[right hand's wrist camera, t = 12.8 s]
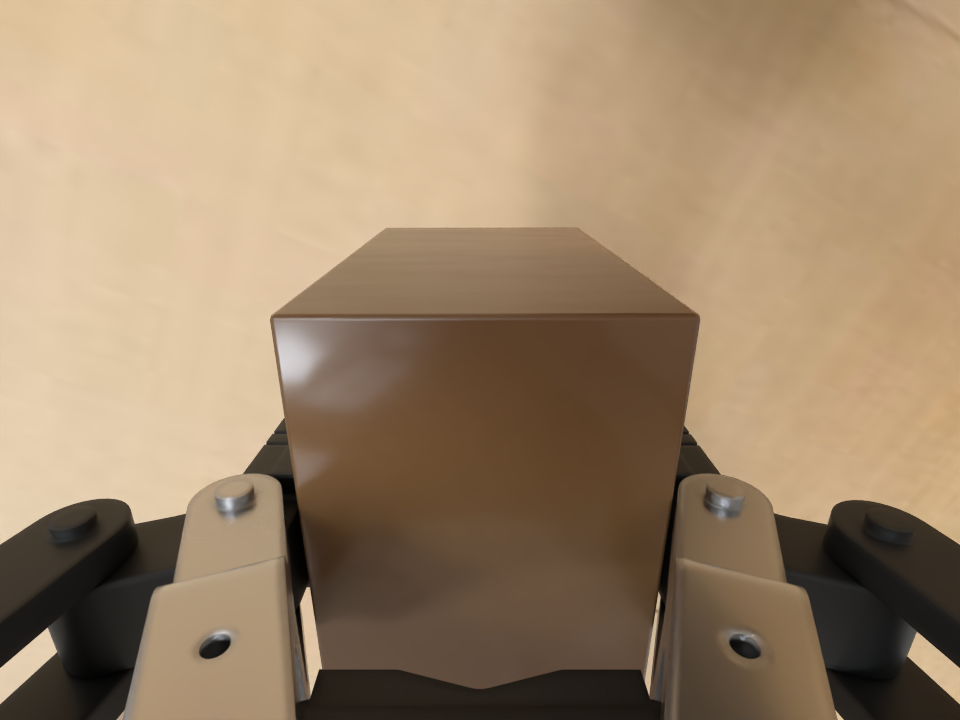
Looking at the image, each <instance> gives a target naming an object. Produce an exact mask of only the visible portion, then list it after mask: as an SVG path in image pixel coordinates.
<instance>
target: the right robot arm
mask: <svg viewBox="0 0 960 720" xmlns="http://www.w3.org/2000/svg"><path fill="white" fill-rule="evenodd" d="M266 443H267V444H266V445H264V446H263V448H262V449H261V450H260V452H259V453H258V454H257V456H256V457H255V458H254V460H253V461H252V462H251V464H250V465H249V466H248V468H247V469H246V471H245V472H244V473H243V474H241V475H236V476H231V477H228V478H225V479H221V480H219V481H217V482H214V483H212V484H210V485H208V486H207V487H205V488H204V489H202V490H201V491H199V492H198V493H197V494H196V495H195V496H194V497H193V498H192V499H191V501H190V502H189V504H188V507H187V512H186V514H183V515H179V516H174V517H169V518H164V519H159V520H154V521H149V522H144V523H139V524H135V523H134V520H133V517H132V513H131V510H130V507H129V506H128V505H127V504H126V503H125V502H123V501H120V500H116V499H96V500H89V501H84V502H80V503H76V504H73V505H70V506H67V507H64V508H62V509H59V510H57V511H54V512H52V513H50V514H48V515H46V516H45V517H43V518H41V519H39V520H38V521H36V522H35V523H33V524H32V525H30V526H28V527H27V528H25V529H24V530H22V531H21V532H19V533H18V534H16V535H15V536H13V537H12V538H10V539H8V540H7V541H5V542H4V543H2V544H1V545H0V668H1V667H2V666H3V665H4V664H5V663H7V662H8V661H9V660H10V659H11V658H12V657H14V656H15V655H16V654H17V653H18V652H19V651H21V650H22V649H23V648H24V647H25V646H26V645H28V644H29V643H30V642H31V641H32V640H34V639H35V638H36V637H37V636H38V635H39V634H41V633H42V632H43V631H44V630H45V629H46V628H48V629H49V632H50V634H51V637H52V639H53V642H54V644H55V647H56V650H57V653H56V654H55V655H54V656H53V657H52V658H51V659H49V660H48V661H47V662H46V663H45V664H44V665H43V666H42V667H41V668H40V669H38V670H37V671H36V672H35V673H34V674H33V675H32V676H31V677H30V678H29V679H28V680H26V681H25V682H24V683H23V684H22V685H21V686H20V687H19V688H18V689H17V690H16V691H14V692H13V693H12V694H11V695H10V696H9V697H8V698H7V699H6V700H5V701H3V702H2V703H1V704H0V720H116V719H117V718H118V717H119V716H120V715H121V713H122V712H123V711H124V710H125V712H124V716H123V720H837V716H836V712H835V710H836V711H837V712H838V713H839V715H840V716H841V717H842V718H843V719H844V720H960V704H959V703H958V702H957V701H955V700H954V699H953V698H952V697H951V696H950V695H949V694H948V693H947V692H946V691H945V690H943V689H942V688H941V687H940V686H939V685H938V684H937V683H936V682H935V681H934V680H932V679H931V678H930V677H929V676H928V675H927V674H926V673H925V672H924V671H923V670H922V669H920V668H919V667H918V666H917V665H916V664H915V663H914V662H913V661H912V660H911V659H909V658H908V657H907V655H908V652H909V650H910V647H911V645H912V642H913V640H914V637H915V635H916V632H918V633H919V634H921V635H922V636H923V637H924V638H925V639H926V640H928V641H929V642H930V643H931V644H932V645H934V646H935V647H936V648H937V649H938V650H939V651H941V652H942V653H943V654H944V655H945V656H946V657H948V658H949V659H950V660H951V661H952V662H953V663H955V664H956V665H957V666H958V667H959V668H960V545H959V544H958V543H956V542H955V541H953V540H952V539H950V538H948V537H947V536H945V535H944V534H942V533H941V532H939V531H938V530H936V529H935V528H933V527H932V526H930V525H928V524H927V523H925V522H924V521H922V520H920V519H919V518H917V517H915V516H913V515H911V514H909V513H907V512H904V511H902V510H899V509H897V508H894V507H891V506H888V505H884V504H880V503H876V502H871V501H863V500H850V501H844V502H840V503H838V504H836V505H835V506H834V507H833V509H832V511H831V515H830V518H829V522H828V525H826V524H821V523H816V522H811V521H806V520H801V519H796V518H790V517H786V516H782V515H778V514H775V513H774V512H773V507H772V504H771V502H770V501H769V499H768V498H767V497H766V496H765V495H764V494H763V493H762V492H761V491H759V490H758V489H756V488H755V487H753V486H752V485H750V484H748V483H746V482H743V481H741V480H739V479H735V478H732V477H729V476H724V475H721V474H720V473H719V471H718V470H717V469H716V467H715V466H714V465H713V463H712V462H711V461H710V459H709V458H708V457H707V455H706V454H705V453H704V451H703V450H702V449H701V447H700V446H697V442H696V441H695V439H694V438H693V437H692V435H689V431H688V430H687V429H686V427H685V426H684V428H683V434H682V441H681V447H680V454H679V460H678V467H677V473H676V480H675V486H674V493H673V499H672V506H671V512H670V519H669V525H668V532H667V538H666V545H665V551H664V558H663V564H662V571H661V577H660V584H659V590H658V591H659V593H660V596H661V599H660V605H659V611H658V618H657V627H656V637H655V647H654V657H653V667H652V676H651V686H650V696H649V694H648V691H647V688H646V685H645V682H644V678H643V675H642V672H641V669H562V670H558V671H554V672H550V673H546V674H542V675H538V676H534V677H530V678H526V679H522V680H518V681H514V682H510V683H506V684H502V685H499V686H495V687H491V688H485V689H475V688H469V687H465V686H461V685H458V684H454V683H450V682H446V681H442V680H438V679H434V678H430V677H426V676H422V675H418V674H414V673H410V672H406V671H402V670H398V669H319V672H318V675H317V678H316V682H315V685H314V688H313V691H312V694H311V696H310V686H309V676H308V667H307V657H306V647H305V637H304V628H303V618H302V611H301V605H300V602H301V600H302V597H303V595H304V592H305V590H306V587H310V583H309V576H308V570H307V563H306V556H305V550H304V543H303V536H302V530H301V523H300V516H299V510H298V503H297V496H296V489H295V483H294V476H293V469H292V463H291V456H290V449H289V443H288V436H287V429H286V423H285V418H284V419H283V420H282V422H281V423H280V425H279V426H278V427H277V429H276V430H275V431H274V434H272V435H271V437H270V438H269V439H268V441H267V442H266Z"/></svg>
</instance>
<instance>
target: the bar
mask: <svg viewBox="0 0 960 720" xmlns="http://www.w3.org/2000/svg"><path fill="white" fill-rule="evenodd" d="M270 322H271V329H272V336H273V343H274V349H275V356H276V363H277V369H278V376H279V383H280V389H281V396H282V403H283V409H284V416H285V423H286V429H287V436H288V443H289V449H290V456H291V463H292V469H293V476H294V483H295V489H296V496H297V503H298V510H299V516H300V523H301V530H302V536H303V543H304V550H305V556H306V563H307V570H308V576H309V583H310V590H311V596H312V603H313V610H314V616H315V623H316V630H317V636H318V643H319V650H320V656H321V663H322V669H398V670H402V671H406V672H410V673H414V674H418V675H422V676H426V677H430V678H434V679H438V680H442V681H446V682H450V683H454V684H458V685H461V686H465V687H469V688H475V689H485V688H491V687H495V686H499V685H502V684H506V683H510V682H514V681H518V680H522V679H526V678H530V677H534V676H538V675H542V674H546V673H550V672H554V671H558V670H562V669H641V672H642V675H643V678H644V682H645V675H646V669H647V662H648V656H649V649H650V642H651V636H652V629H653V623H654V616H655V610H656V603H657V597H658V590H659V584H660V577H661V571H662V564H663V558H664V551H665V545H666V538H667V532H668V525H669V519H670V512H671V506H672V499H673V493H674V486H675V480H676V473H677V467H678V460H679V454H680V447H681V441H682V434H683V428H684V421H685V415H686V408H687V402H688V395H689V389H690V382H691V376H692V369H693V363H694V356H695V350H696V343H697V337H698V330H699V324H700V317H699V314H697V313H696V312H694V311H693V310H692V309H690V308H689V307H687V306H686V305H685V304H683V303H682V302H681V301H679V300H678V299H676V298H675V297H674V296H672V295H671V294H669V293H668V292H667V291H665V290H664V289H662V288H661V287H660V286H658V285H657V284H655V283H654V282H653V281H651V280H650V279H648V278H647V277H646V276H644V275H643V274H642V273H640V272H639V271H637V270H636V269H635V268H633V267H632V266H630V265H629V264H628V263H626V262H625V261H623V260H622V259H621V258H619V257H618V256H616V255H615V254H614V253H612V252H611V251H609V250H608V249H607V248H605V247H604V246H603V245H601V244H600V243H598V242H597V241H596V240H594V239H593V238H591V237H590V236H589V235H587V234H586V233H584V232H583V231H582V230H580V229H579V228H386V229H384V230H383V231H382V232H380V233H379V234H378V235H376V236H375V237H374V238H372V239H371V240H370V241H369V242H367V243H366V244H365V245H363V246H362V247H361V248H359V249H358V250H357V251H355V252H354V253H353V254H351V255H350V256H349V257H348V258H346V259H345V260H344V261H342V262H341V263H340V264H338V265H337V266H336V267H334V268H333V269H332V270H330V271H329V272H328V273H326V274H325V275H324V276H323V277H321V278H320V279H319V280H317V281H316V282H315V283H313V284H312V285H311V286H309V287H308V288H307V289H305V290H304V291H303V292H302V293H300V294H299V295H298V296H296V297H295V298H294V299H292V300H291V301H290V302H288V303H287V304H286V305H284V306H283V307H282V308H280V309H279V310H278V311H277V312H275V313H274V314H273V315H271V318H270Z"/></svg>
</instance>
